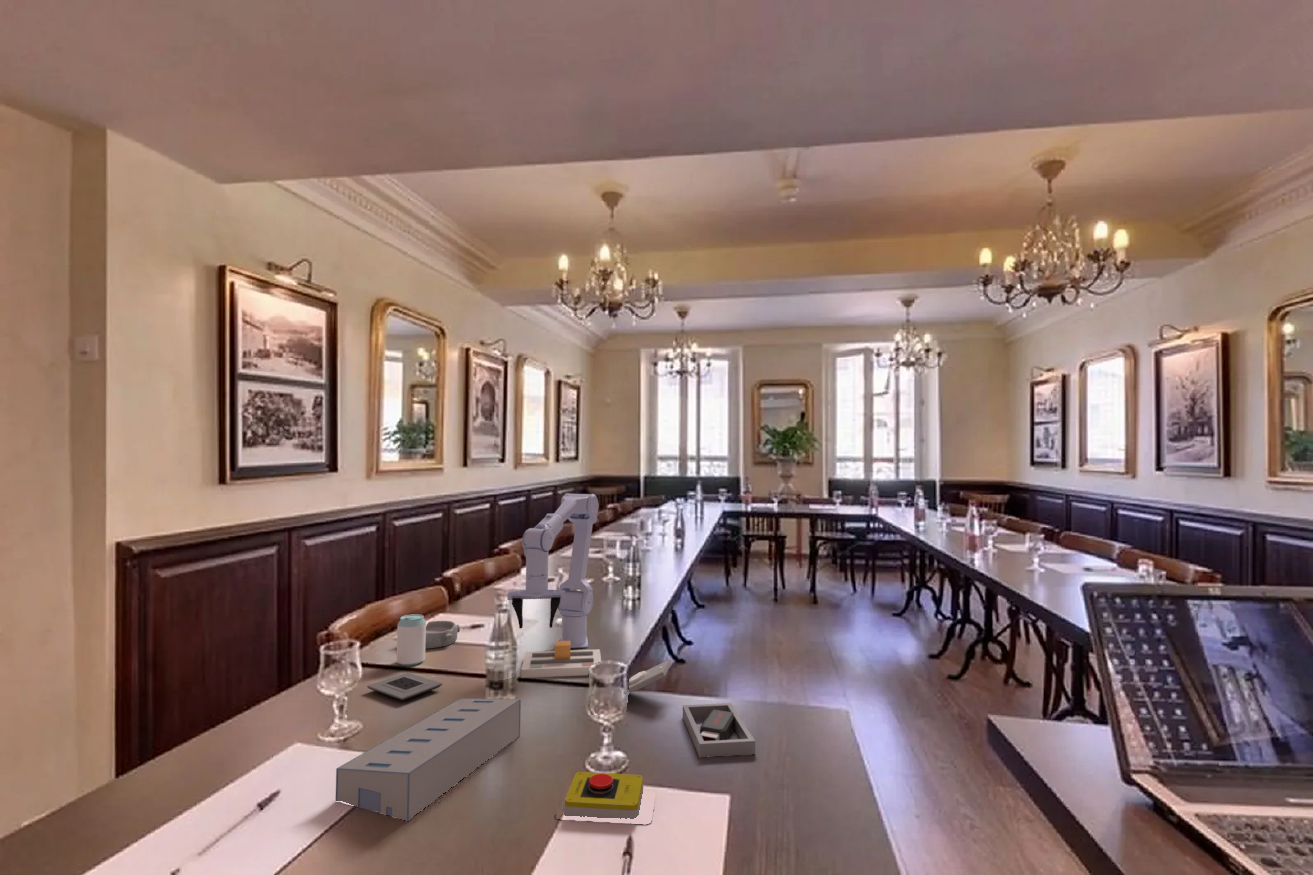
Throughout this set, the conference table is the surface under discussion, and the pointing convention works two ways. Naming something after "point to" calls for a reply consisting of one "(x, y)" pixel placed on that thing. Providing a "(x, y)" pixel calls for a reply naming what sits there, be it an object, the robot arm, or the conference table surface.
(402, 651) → the can
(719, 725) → the usb drive
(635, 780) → the emergency button
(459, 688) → the conference table surface
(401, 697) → the electrical outlet
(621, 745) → the conference table surface
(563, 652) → the orange cube
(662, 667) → the light switch
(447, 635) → the dish
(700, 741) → the desk tray
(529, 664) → the plate
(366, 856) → the conference table surface
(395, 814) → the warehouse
